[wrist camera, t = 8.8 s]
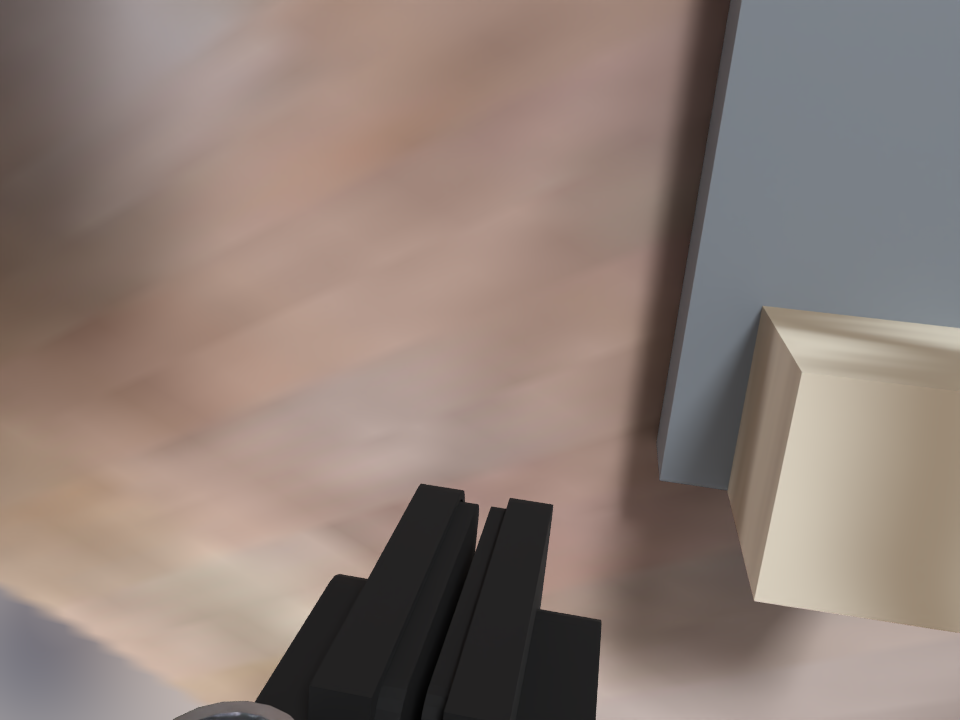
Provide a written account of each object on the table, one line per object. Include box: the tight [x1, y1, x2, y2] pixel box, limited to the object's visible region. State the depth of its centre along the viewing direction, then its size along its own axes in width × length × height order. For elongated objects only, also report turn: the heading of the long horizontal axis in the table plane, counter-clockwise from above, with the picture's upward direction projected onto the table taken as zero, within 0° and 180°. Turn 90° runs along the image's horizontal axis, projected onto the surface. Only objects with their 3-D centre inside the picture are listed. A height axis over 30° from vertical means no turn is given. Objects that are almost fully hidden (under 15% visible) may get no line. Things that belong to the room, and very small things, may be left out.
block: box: [727, 306, 960, 633], centre depth 19 cm, size 5×5×5 cm
